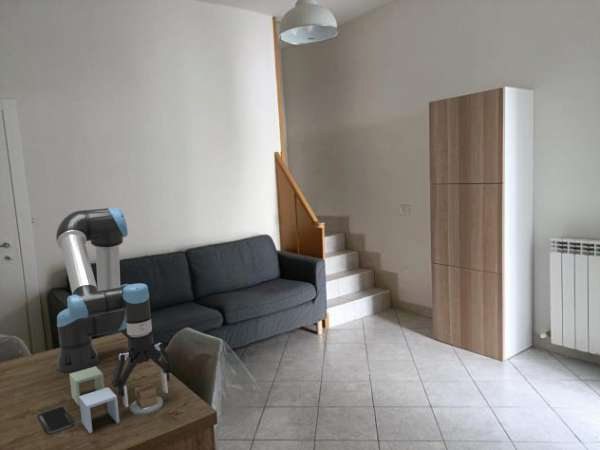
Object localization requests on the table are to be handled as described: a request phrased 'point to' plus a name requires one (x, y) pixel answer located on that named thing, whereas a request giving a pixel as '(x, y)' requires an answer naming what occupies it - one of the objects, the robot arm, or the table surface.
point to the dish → (138, 411)
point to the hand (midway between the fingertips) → (146, 398)
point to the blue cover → (97, 399)
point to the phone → (56, 420)
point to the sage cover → (85, 376)
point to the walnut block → (146, 396)
